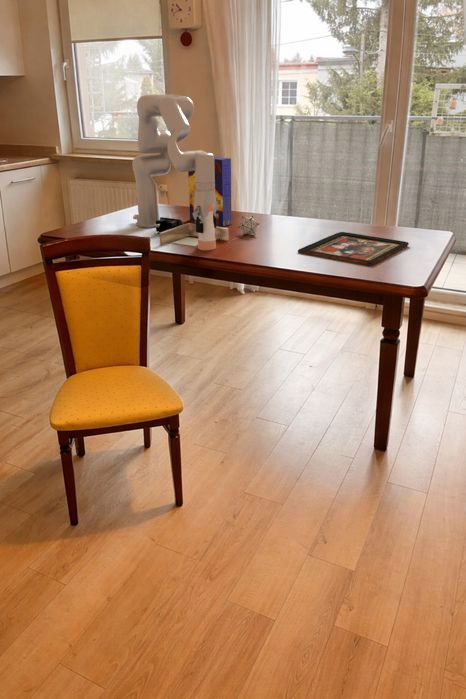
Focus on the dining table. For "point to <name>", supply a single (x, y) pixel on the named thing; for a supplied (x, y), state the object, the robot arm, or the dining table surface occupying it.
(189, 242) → the pad
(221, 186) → the cereal box
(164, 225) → the end cap
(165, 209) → the dining table surface
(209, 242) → the pepper shaker
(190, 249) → the dining table surface
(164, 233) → the corner walls
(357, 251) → the framed icon painting
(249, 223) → the grey spiky star ornament
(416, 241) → the dining table surface
